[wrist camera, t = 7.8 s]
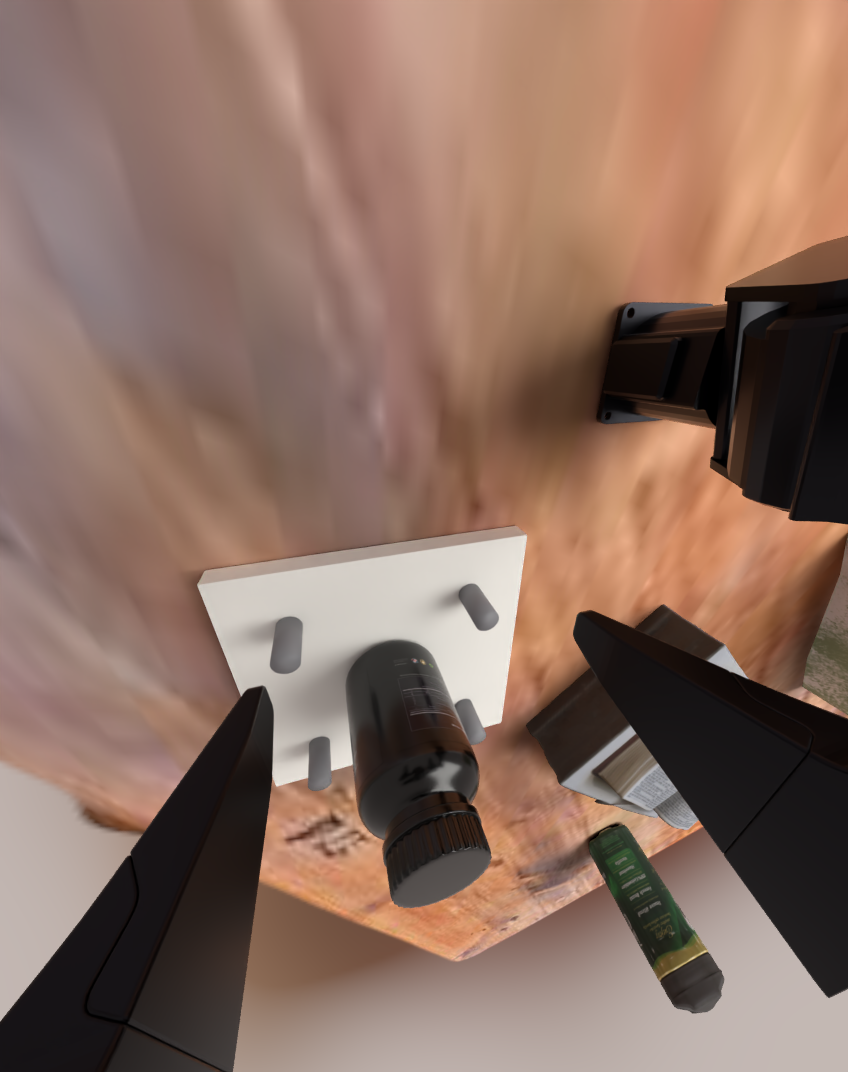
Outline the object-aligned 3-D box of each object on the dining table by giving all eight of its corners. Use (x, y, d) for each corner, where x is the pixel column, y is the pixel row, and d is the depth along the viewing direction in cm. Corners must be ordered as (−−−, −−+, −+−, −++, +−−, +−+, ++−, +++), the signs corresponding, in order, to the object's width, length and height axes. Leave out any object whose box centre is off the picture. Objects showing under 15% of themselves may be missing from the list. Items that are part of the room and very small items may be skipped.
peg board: (516, 525, 24) (553, 556, 21) (494, 708, 34) (516, 753, 30) (204, 570, 20) (177, 621, 16) (278, 767, 29) (272, 829, 25)
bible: (589, 784, 49) (646, 873, 41) (507, 710, 35) (568, 822, 27) (729, 689, 47) (818, 761, 39) (700, 572, 33) (829, 645, 25)
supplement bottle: (406, 710, 28) (458, 913, 18) (328, 696, 25) (335, 932, 15) (452, 648, 26) (539, 836, 16) (373, 625, 23) (418, 838, 13)
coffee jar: (582, 839, 57) (683, 1024, 41) (623, 816, 58) (740, 991, 42) (589, 856, 62) (683, 1027, 46) (627, 834, 63) (733, 997, 47)
